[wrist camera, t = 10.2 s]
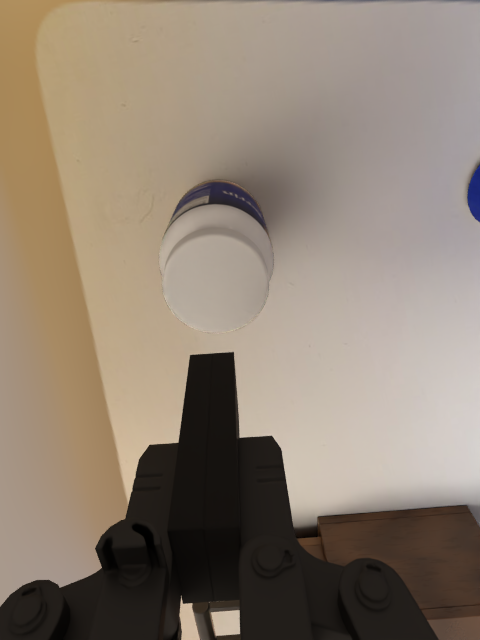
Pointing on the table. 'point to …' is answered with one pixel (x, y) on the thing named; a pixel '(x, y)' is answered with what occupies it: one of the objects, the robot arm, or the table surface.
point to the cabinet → (419, 559)
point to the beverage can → (475, 194)
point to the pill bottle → (216, 258)
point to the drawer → (205, 608)
